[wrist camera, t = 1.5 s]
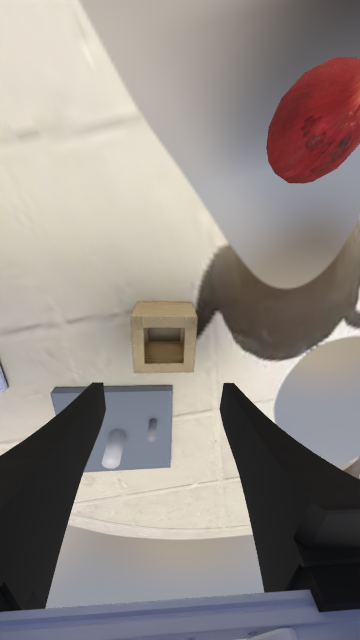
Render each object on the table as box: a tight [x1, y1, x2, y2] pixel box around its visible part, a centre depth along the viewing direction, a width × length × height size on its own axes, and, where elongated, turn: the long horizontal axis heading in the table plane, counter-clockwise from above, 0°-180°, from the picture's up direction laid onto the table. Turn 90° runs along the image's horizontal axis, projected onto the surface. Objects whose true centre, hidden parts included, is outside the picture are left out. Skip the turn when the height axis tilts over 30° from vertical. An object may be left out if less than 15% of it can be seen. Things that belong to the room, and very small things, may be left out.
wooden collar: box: [131, 302, 198, 373], centre depth 20 cm, size 6×7×4 cm
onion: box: [267, 57, 360, 183], centre depth 13 cm, size 6×6×8 cm
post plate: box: [51, 385, 172, 472], centre depth 24 cm, size 14×14×4 cm
